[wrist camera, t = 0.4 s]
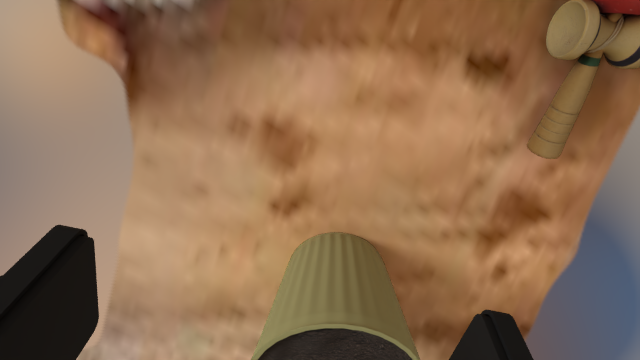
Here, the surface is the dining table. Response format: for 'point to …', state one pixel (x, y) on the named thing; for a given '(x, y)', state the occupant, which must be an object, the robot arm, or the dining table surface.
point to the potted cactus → (336, 306)
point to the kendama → (585, 60)
